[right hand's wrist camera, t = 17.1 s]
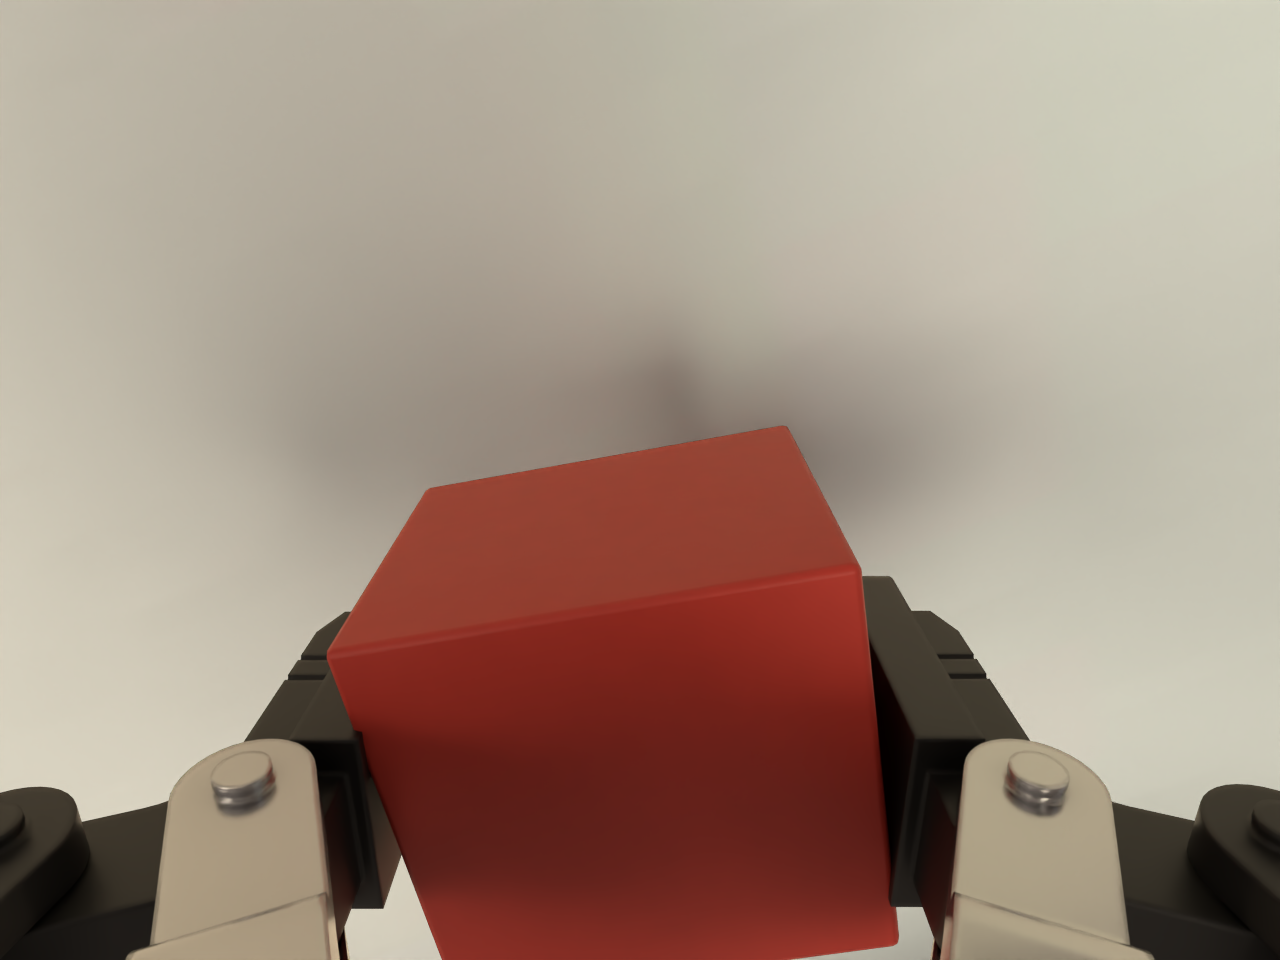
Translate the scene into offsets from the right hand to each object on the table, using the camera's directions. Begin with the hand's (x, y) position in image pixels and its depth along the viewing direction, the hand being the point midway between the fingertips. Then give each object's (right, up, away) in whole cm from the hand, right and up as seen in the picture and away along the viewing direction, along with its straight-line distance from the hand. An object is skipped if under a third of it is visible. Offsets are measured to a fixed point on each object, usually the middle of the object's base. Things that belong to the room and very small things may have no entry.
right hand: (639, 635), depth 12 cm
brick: (0, 0, +1) cm, 1 cm away
